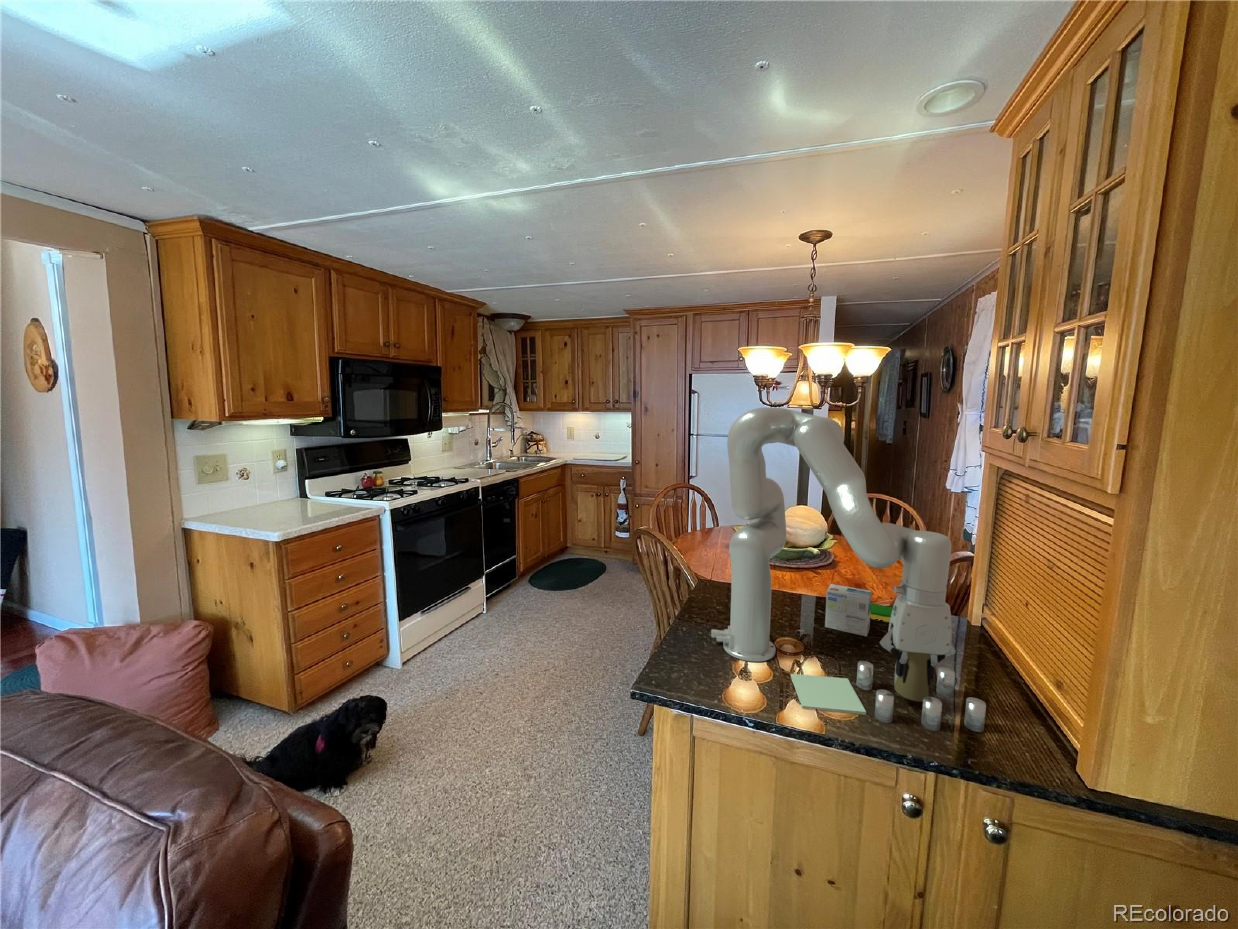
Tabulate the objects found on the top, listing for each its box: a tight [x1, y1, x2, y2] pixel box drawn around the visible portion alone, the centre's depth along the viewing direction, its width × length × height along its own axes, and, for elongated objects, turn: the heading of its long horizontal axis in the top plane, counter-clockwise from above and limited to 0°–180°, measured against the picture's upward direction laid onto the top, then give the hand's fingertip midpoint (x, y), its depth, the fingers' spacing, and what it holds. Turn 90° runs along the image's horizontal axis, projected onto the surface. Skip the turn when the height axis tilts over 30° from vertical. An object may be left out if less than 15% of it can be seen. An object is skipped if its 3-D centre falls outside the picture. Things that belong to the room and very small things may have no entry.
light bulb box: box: [824, 583, 872, 637], centre depth 133 cm, size 11×7×11 cm, turn 58°
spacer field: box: [855, 660, 987, 733], centre depth 98 cm, size 19×16×5 cm
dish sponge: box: [870, 603, 893, 623], centre depth 140 cm, size 7×14×2 cm, turn 62°
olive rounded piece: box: [893, 652, 931, 702], centre depth 98 cm, size 6×6×11 cm
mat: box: [790, 673, 867, 716], centre depth 102 cm, size 12×12×1 cm
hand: (913, 679), depth 98 cm, fingers closed on olive rounded piece, 3 cm apart
